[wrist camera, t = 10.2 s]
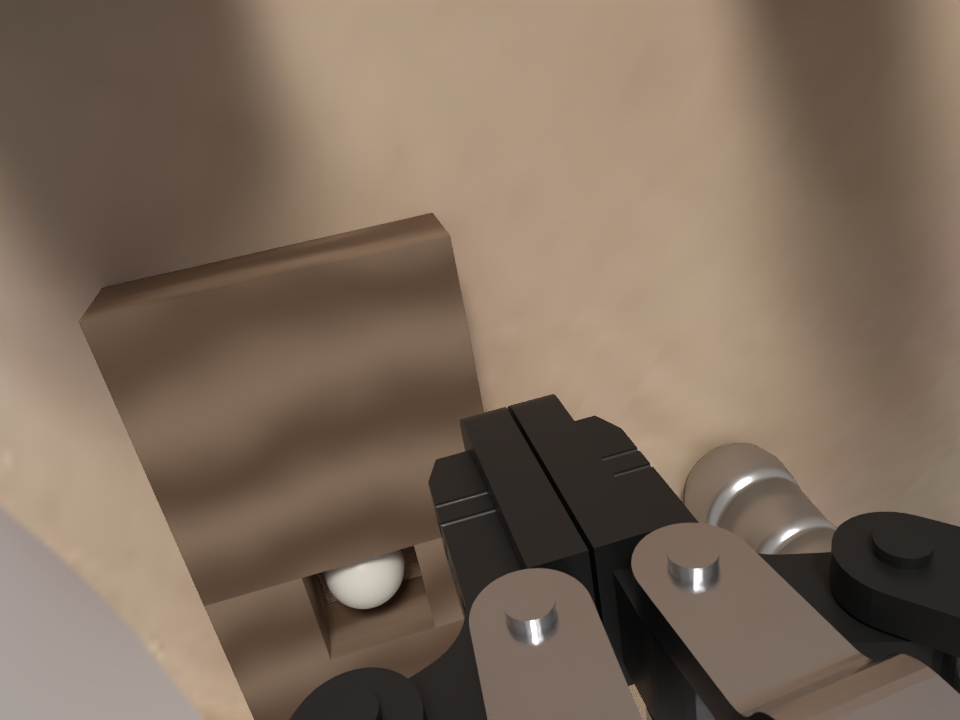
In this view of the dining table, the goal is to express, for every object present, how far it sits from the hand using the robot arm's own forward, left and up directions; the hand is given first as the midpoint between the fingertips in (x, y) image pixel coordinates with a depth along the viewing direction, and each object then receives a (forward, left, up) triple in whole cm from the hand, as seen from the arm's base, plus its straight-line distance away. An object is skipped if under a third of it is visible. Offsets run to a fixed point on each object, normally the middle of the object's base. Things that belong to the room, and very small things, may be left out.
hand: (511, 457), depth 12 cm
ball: (+5, +21, -25) cm, 33 cm away
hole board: (+5, +16, -27) cm, 32 cm away
